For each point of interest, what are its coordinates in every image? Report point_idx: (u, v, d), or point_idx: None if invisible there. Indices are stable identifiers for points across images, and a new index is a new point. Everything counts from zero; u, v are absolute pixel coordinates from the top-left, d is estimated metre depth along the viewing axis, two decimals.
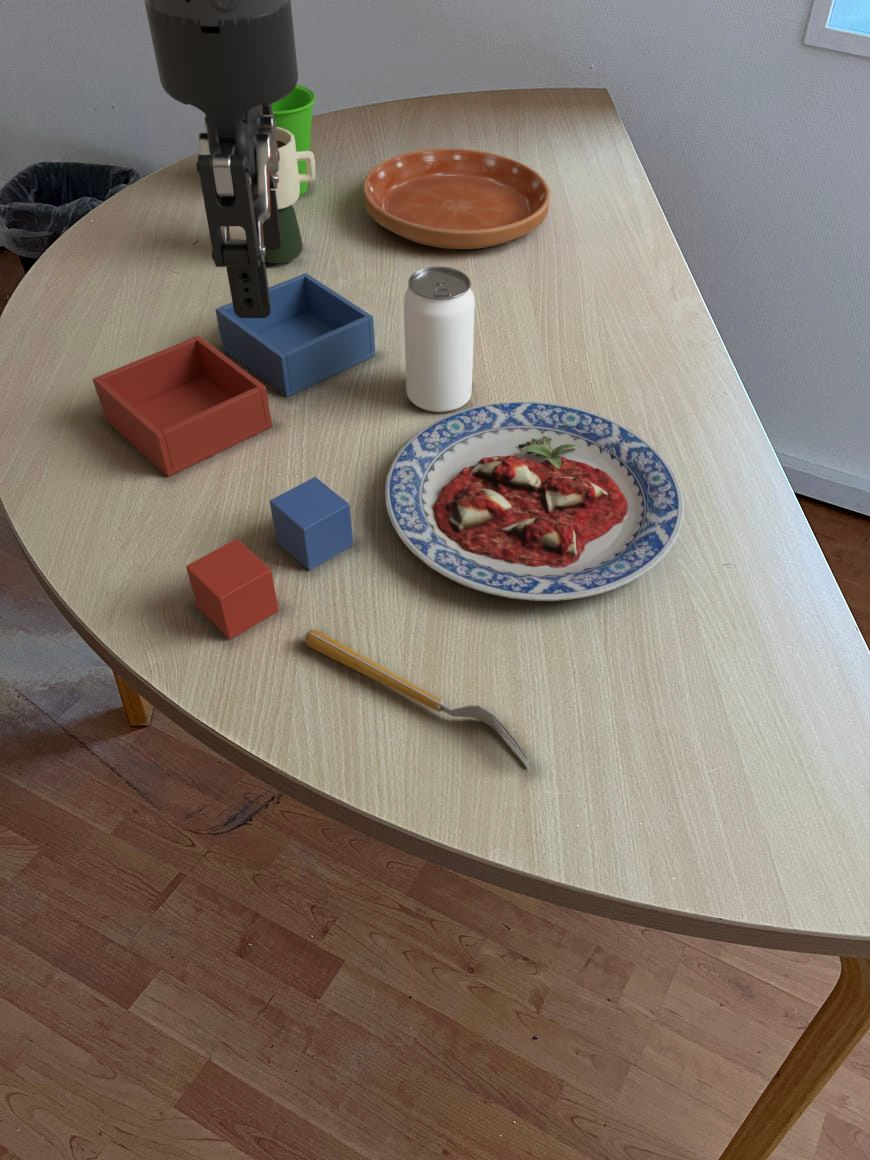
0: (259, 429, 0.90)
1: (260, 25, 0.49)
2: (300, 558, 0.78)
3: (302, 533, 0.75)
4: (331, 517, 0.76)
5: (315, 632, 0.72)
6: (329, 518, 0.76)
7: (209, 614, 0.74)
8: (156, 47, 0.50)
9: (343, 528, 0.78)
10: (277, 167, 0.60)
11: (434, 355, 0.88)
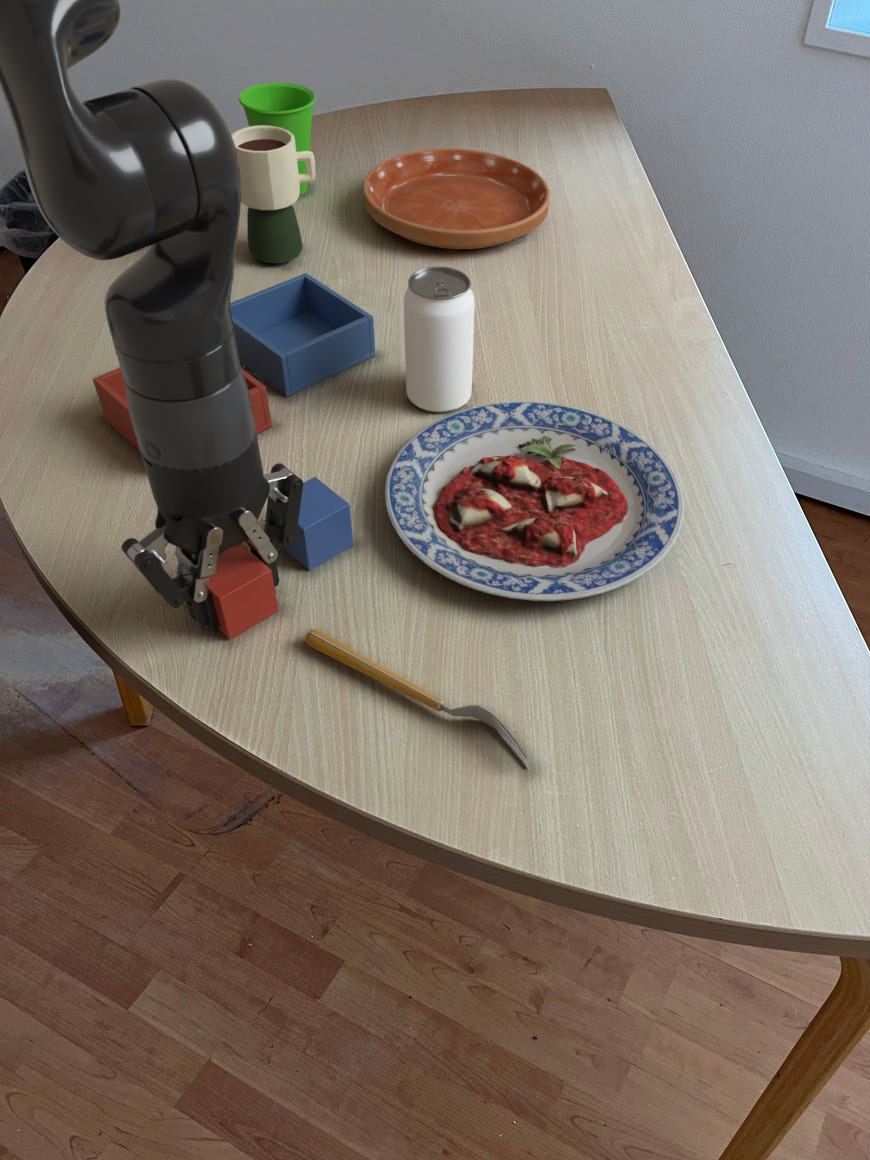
0: (259, 429, 0.90)
1: (180, 474, 0.60)
2: (300, 558, 0.78)
3: (302, 533, 0.75)
4: (331, 517, 0.76)
5: (315, 632, 0.72)
6: (329, 518, 0.76)
7: None
8: None
9: (343, 528, 0.78)
10: (256, 547, 0.70)
11: (434, 355, 0.88)
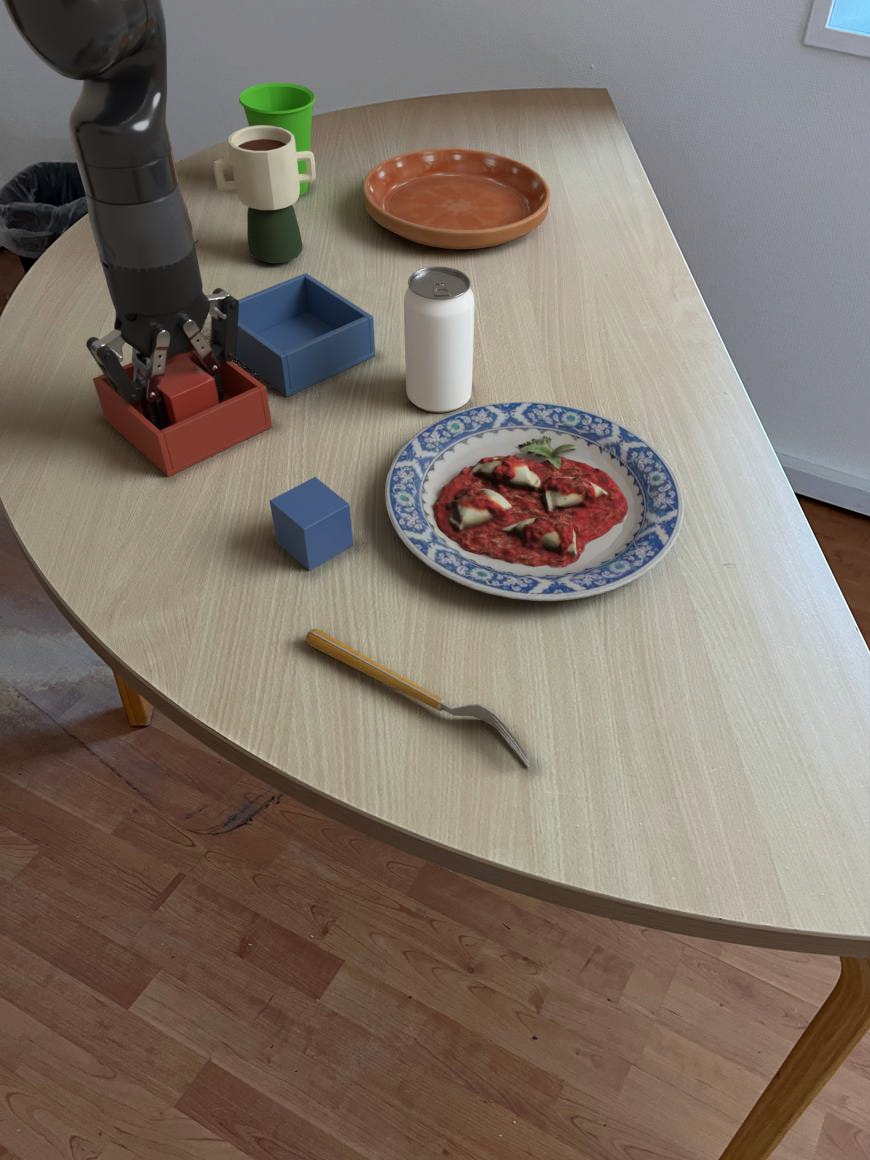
0: (259, 429, 0.90)
1: (131, 273, 0.75)
2: (300, 558, 0.78)
3: (302, 533, 0.75)
4: (331, 517, 0.76)
5: (316, 631, 0.72)
6: (329, 518, 0.76)
7: None
8: None
9: (343, 528, 0.78)
10: (201, 357, 0.85)
11: (434, 355, 0.88)
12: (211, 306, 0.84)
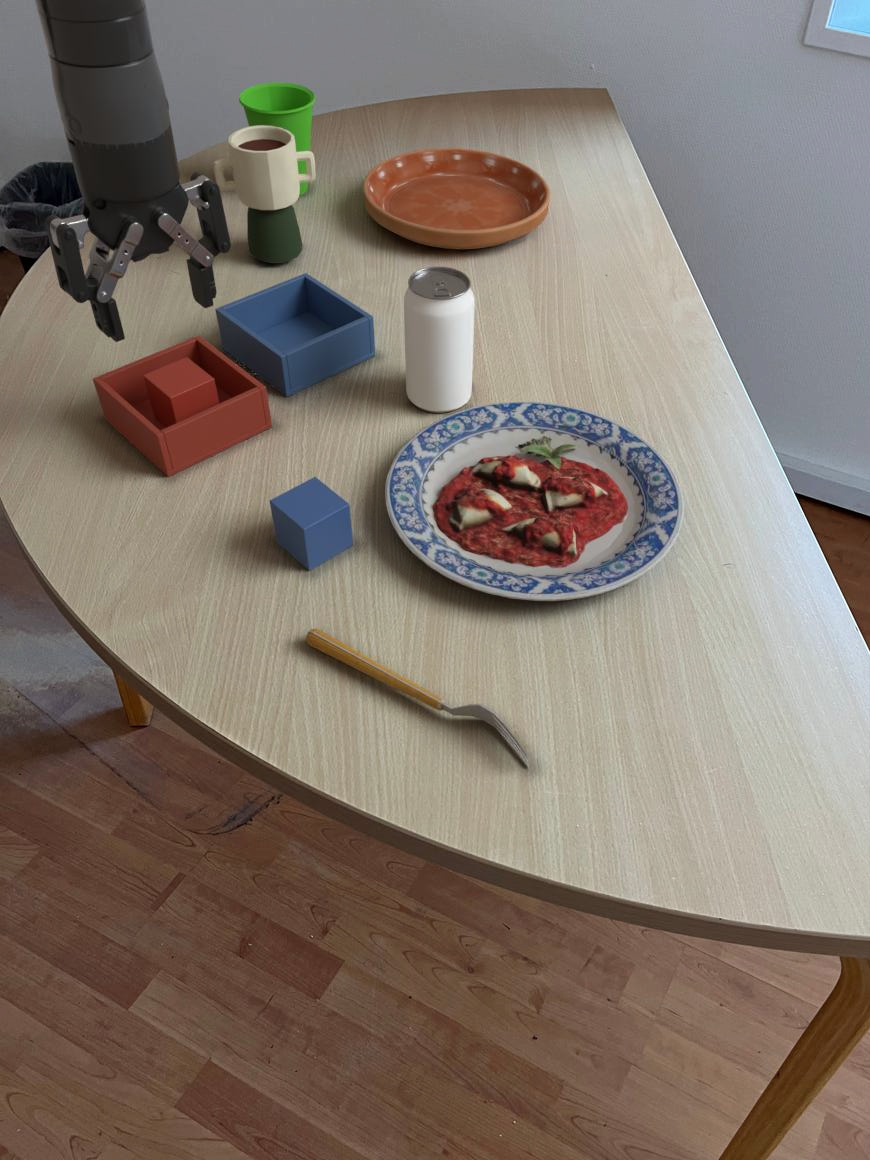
0: (259, 429, 0.90)
1: (99, 150, 0.68)
2: (300, 558, 0.78)
3: (302, 533, 0.75)
4: (331, 517, 0.76)
5: (316, 631, 0.72)
6: (329, 518, 0.76)
7: (164, 419, 0.88)
8: None
9: (343, 528, 0.78)
10: (187, 251, 0.78)
11: (434, 355, 0.88)
12: (190, 196, 0.77)
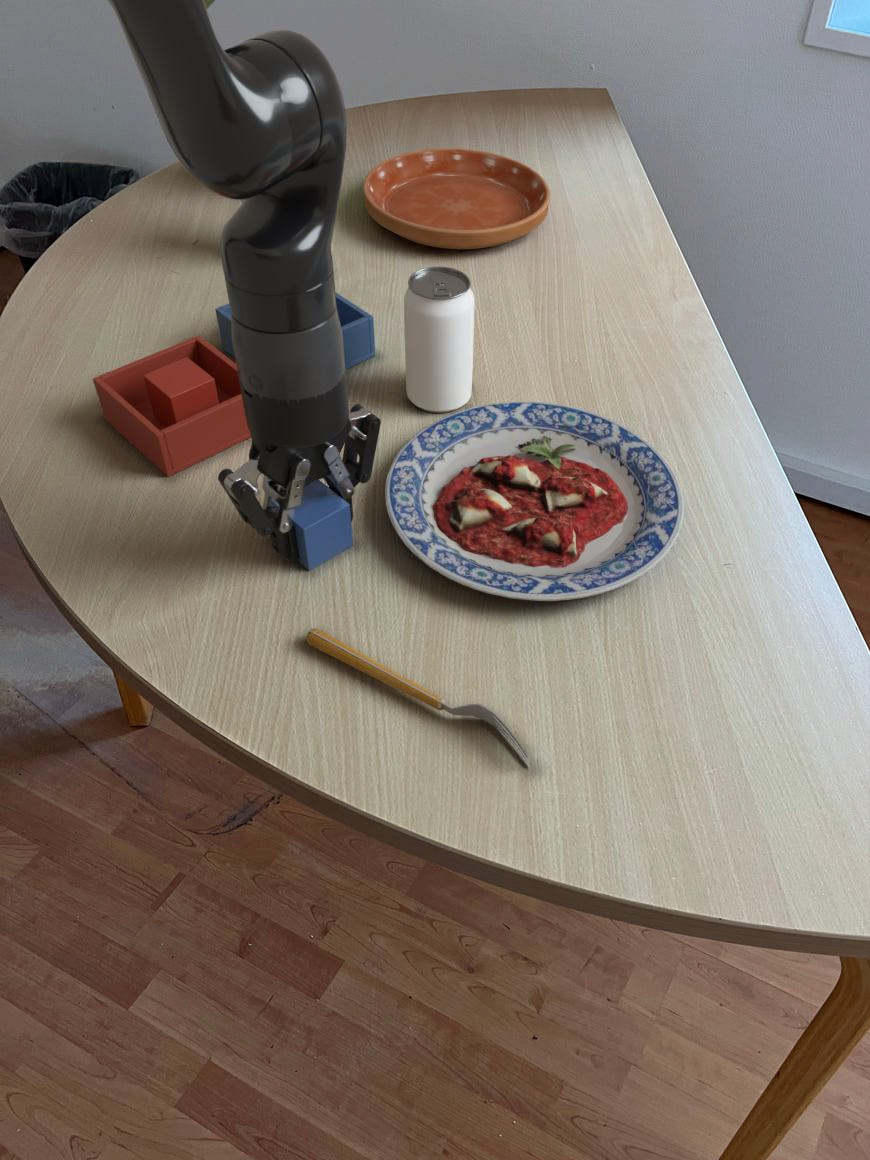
0: None
1: (279, 405, 0.65)
2: (300, 558, 0.78)
3: (302, 533, 0.75)
4: (331, 517, 0.76)
5: (316, 631, 0.72)
6: (329, 518, 0.76)
7: (164, 419, 0.88)
8: None
9: (343, 528, 0.78)
10: (337, 482, 0.75)
11: (434, 355, 0.88)
12: (351, 426, 0.75)
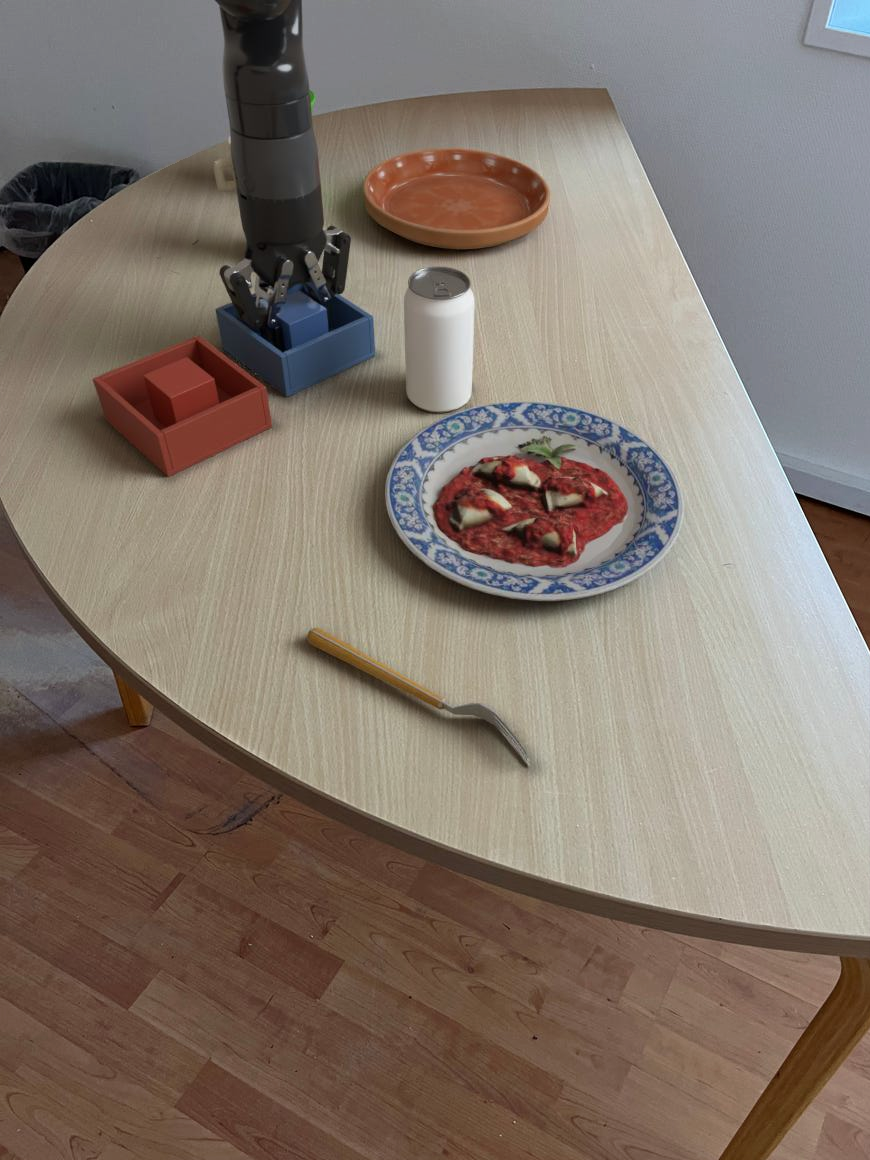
0: (259, 429, 0.90)
1: (267, 204, 0.84)
2: None
3: (288, 328, 0.93)
4: (311, 317, 0.94)
5: (317, 630, 0.72)
6: (310, 318, 0.94)
7: (164, 419, 0.88)
8: None
9: (322, 330, 0.96)
10: (316, 287, 0.94)
11: (434, 355, 0.88)
12: (327, 241, 0.93)
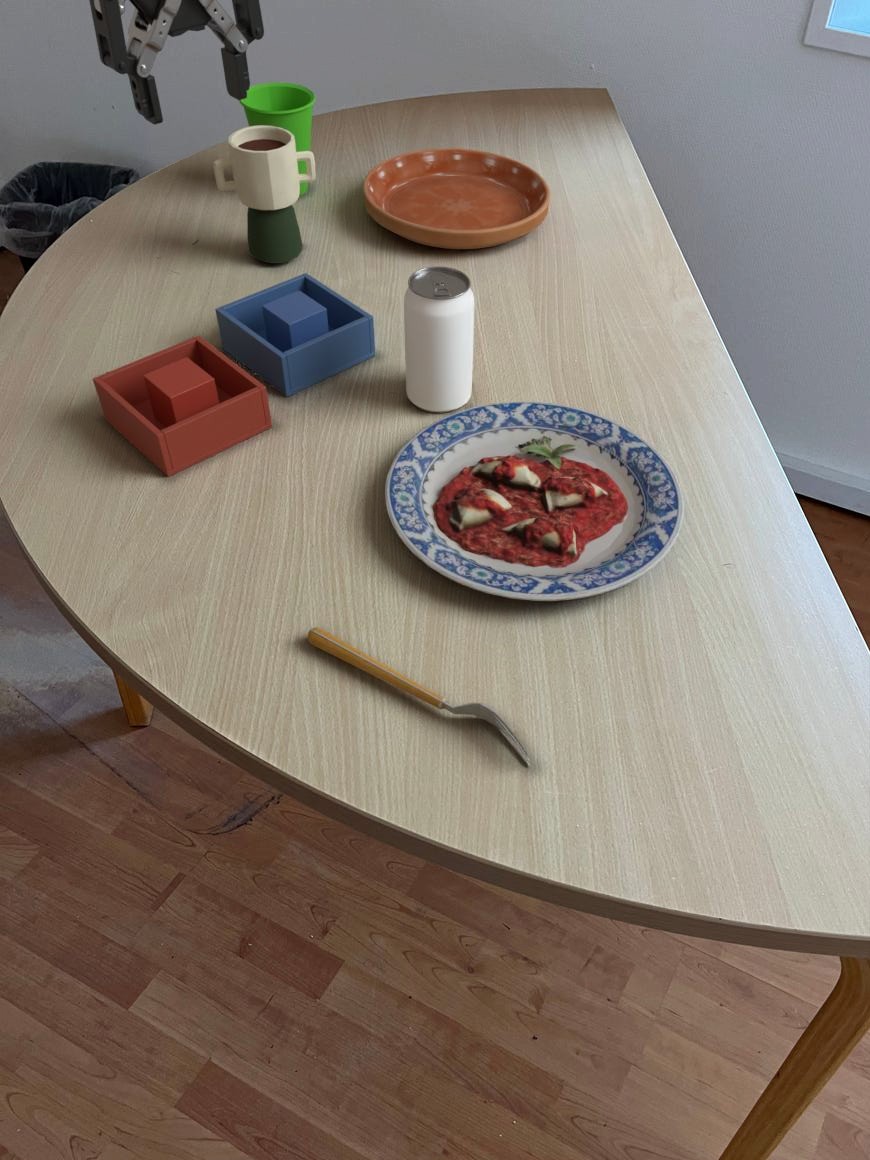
0: (259, 429, 0.90)
1: None
2: None
3: (288, 328, 0.93)
4: (311, 317, 0.94)
5: (317, 630, 0.72)
6: (310, 318, 0.94)
7: (164, 419, 0.88)
8: None
9: (321, 330, 0.96)
10: (223, 30, 0.80)
11: (434, 355, 0.88)
12: None
